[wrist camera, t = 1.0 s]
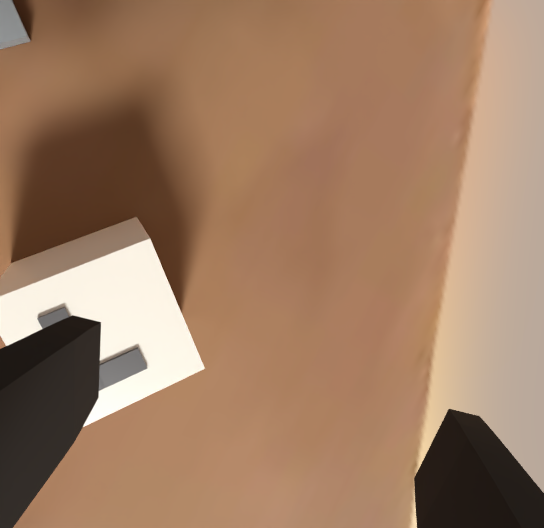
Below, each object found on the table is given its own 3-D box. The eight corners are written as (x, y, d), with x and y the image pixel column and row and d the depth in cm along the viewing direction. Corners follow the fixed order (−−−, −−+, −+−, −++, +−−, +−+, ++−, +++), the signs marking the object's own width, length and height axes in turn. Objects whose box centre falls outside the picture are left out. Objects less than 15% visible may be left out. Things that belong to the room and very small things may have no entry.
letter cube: (69, 368, 19) (60, 439, 14) (11, 262, 17) (-20, 304, 13) (180, 319, 20) (205, 370, 16) (136, 216, 18) (150, 239, 14)
